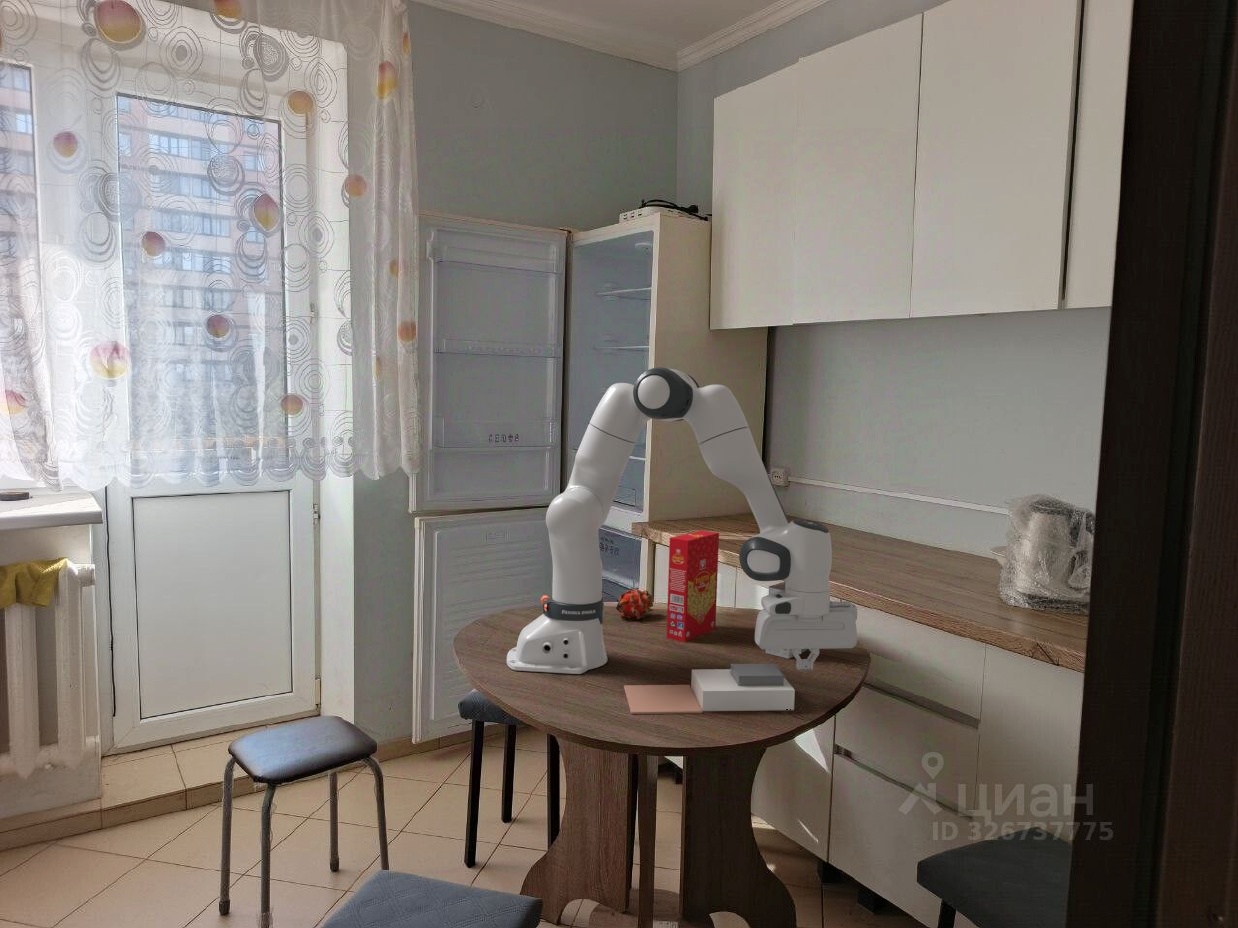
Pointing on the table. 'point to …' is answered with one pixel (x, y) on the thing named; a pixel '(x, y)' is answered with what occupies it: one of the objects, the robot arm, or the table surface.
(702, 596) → the food packaging
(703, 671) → the block
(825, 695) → the table surface
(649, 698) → the mat
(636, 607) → the dragon fruit
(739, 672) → the gray flat block
